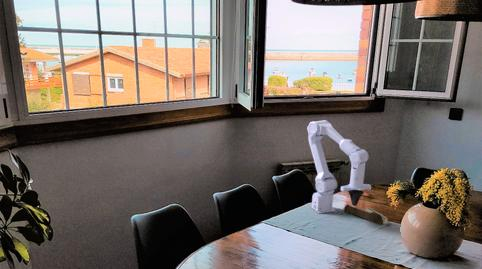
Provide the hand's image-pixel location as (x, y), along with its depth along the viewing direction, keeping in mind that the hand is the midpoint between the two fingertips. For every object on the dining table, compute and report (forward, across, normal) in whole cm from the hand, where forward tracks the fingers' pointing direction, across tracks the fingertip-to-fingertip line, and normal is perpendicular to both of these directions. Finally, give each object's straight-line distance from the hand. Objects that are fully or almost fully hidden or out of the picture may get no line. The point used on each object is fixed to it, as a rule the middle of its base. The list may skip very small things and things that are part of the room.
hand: (354, 205), depth 162 cm
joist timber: (+8, +12, 0) cm, 15 cm away
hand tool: (+8, +7, +2) cm, 11 cm away
